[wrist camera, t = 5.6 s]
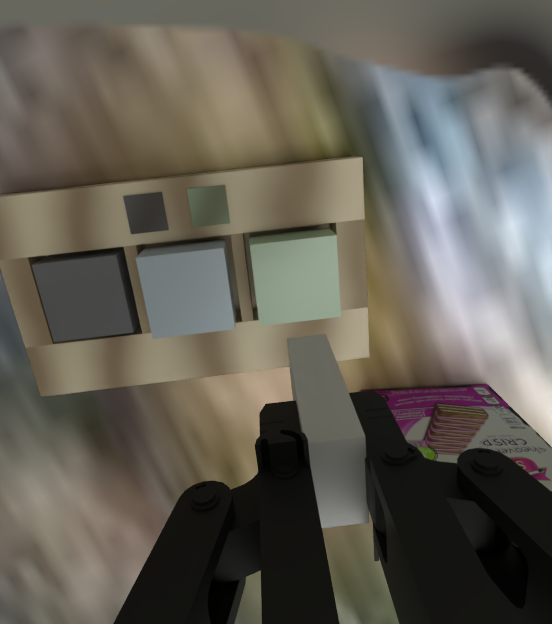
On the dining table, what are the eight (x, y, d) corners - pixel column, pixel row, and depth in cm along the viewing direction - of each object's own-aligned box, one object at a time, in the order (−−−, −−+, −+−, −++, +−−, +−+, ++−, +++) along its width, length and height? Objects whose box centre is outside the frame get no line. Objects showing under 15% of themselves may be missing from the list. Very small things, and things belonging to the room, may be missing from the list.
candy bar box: (488, 379, 39) (650, 533, 23) (480, 430, 40) (627, 605, 25) (357, 386, 38) (433, 549, 23) (354, 437, 40) (424, 621, 24)
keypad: (56, 377, 36) (39, 398, 33) (2, 194, 31) (-24, 199, 28) (359, 340, 37) (369, 358, 34) (351, 156, 32) (363, 157, 29)
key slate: (159, 323, 32) (152, 338, 30) (145, 248, 31) (135, 258, 28) (236, 314, 33) (235, 329, 30) (225, 239, 31) (223, 247, 28)
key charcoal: (68, 326, 34) (53, 341, 31) (48, 255, 32) (31, 264, 29) (142, 318, 34) (133, 332, 31) (126, 246, 32) (116, 255, 29)
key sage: (258, 312, 33) (259, 326, 30) (249, 236, 31) (249, 245, 28) (333, 303, 33) (341, 316, 30) (328, 227, 31) (336, 235, 28)
